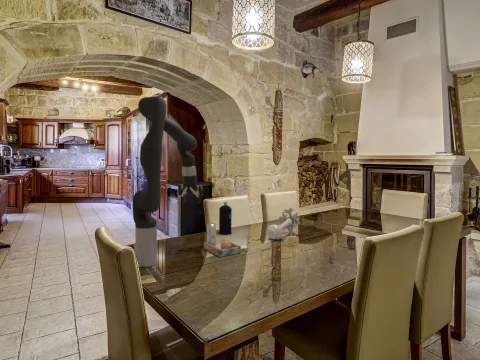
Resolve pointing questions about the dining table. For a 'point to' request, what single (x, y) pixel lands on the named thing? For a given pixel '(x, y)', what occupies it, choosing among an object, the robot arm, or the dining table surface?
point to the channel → (225, 252)
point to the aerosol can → (225, 219)
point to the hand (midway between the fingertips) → (191, 203)
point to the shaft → (211, 233)
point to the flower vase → (284, 225)
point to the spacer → (225, 244)
